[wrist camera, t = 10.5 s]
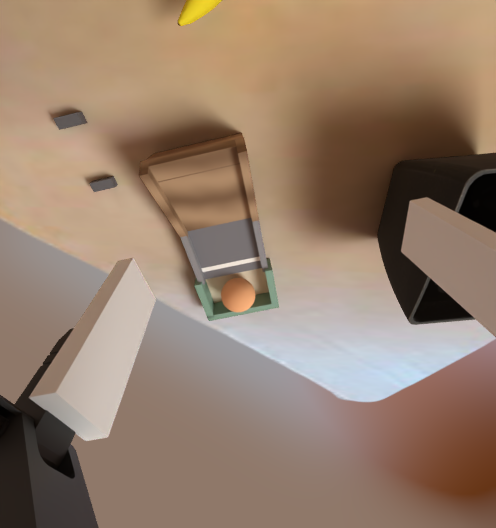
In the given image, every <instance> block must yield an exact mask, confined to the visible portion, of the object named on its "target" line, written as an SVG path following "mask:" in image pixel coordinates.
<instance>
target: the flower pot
mask: <svg viewBox="0 0 496 528" xmlns="http://www.w3.org/2000/svg"><path fill="white" fill-rule="evenodd" d="M426 197H428V198H429V199H431V200H433V201H435V202H437V203H439V204H441V205H443V206H445V207H447V208H449V209H451V210H453V211H455V212H457V213H459V214H461V215H462V216H464V217H466V218H468V219H470V220H472V221H474V222H476V223H478V224H480V225H482V226H484V227H486V228H488V229H490V230H492V231H494V232H495V233H496V153H488V154H478V155H468V156H456V157H444V158H432V159H419V160H405V161H401V162H399V163H398V164H397V165H396V166H395V168H394V170H393V174H392V178H391V182H390V186H389V190H388V194H387V198H386V202H385V206H384V210H383V214H382V218H381V222H380V226H379V230H378V234H377V236H378V242H379V247H380V252H381V256H382V260H383V263H384V266H385V270H386V273H387V275H388V278H389V281H390V283H391V286H392V288H393V291H394V293H395V295H396V297H397V300H398V302H399V304H400V306H401V308H402V310H403V312H404V314H405V316H406V317H407V319H408V321H409V322H410V323H411V324H414V325H417V324H429V323H441V322H452V321H463V320H474V319H475V318H474V317H473V316H472V315H471V314H469V313H468V312H467V311H466V310H465V309H464V308H463V307H462V306H461V305H460V304H458V303H457V302H456V301H455V300H454V299H453V298H452V297H451V296H450V295H448V294H447V293H446V292H445V291H444V290H443V289H442V288H441V287H440V286H439V285H437V284H436V283H435V282H434V281H433V280H432V279H431V278H430V277H429V276H427V275H426V274H425V273H424V272H423V271H422V270H421V269H420V268H419V267H418V266H416V265H415V264H414V263H413V262H412V261H411V260H410V259H409V258H408V257H406V256H405V255H404V254H403V253H402V252H401V248H402V243H403V237H404V231H405V226H406V220H407V214H408V208H409V203H410V201H411V200H416V199H421V198H426Z"/></svg>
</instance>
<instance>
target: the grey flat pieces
mask: <svg viewBox="0 0 496 528" xmlns="http://www.w3.org/2000/svg"><path fill="white" fill-rule="evenodd" d="M53 119H54V121H55V123H56V125H57V126H58V128H59V130H60V129H65V128H69V127H73V126H77V125H81V124H85V123H87V121H86V119H85V117H84V115H83V113H82V112H77V113H73V114H69V115H65V116H61V117H57V118H53ZM89 184H90V186H91V188H92V189H93V191H94V192H96V191H101V190H105V189H110V188H114V187H116V186H117V185H118V184H117V182H116V180H115V178H114V176H112V177H108V178H104V179H100V180H95V181H92V182H91V183H89Z"/></svg>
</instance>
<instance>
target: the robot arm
mask: <svg viewBox="0 0 496 528" xmlns="http://www.w3.org/2000/svg"><path fill="white" fill-rule="evenodd" d="M401 252H402V253H403V254H404V255H405V256H406V257H408V258H409V259H410V260H411V261H412V262H413V263H414V264H415V265H416V266H418V267H419V268H420V269H421V270H422V271H423V272H424V273H425V274H426V275H427V276H429V277H430V278H431V279H432V280H433V281H434V282H435V283H436V284H437V285H439V286H440V287H441V288H442V289H443V290H444V291H445V292H446V293H447V294H448V295H450V296H451V297H452V298H453V299H454V300H455V301H456V302H457V303H458V304H460V305H461V306H462V307H463V308H464V309H465V310H466V311H467V312H468V313H469V314H471V315H472V316H473V317H474V318H475V319H476V320H477V321H478V322H479V323H481V324H482V325H483V326H484V327H485V328H486V329H487V330H488V331H489V332H490V333H492V334H493V335H494V336H495V337H496V233H495V232H494V231H492V230H490V229H488V228H486V227H484V226H482V225H480V224H478V223H476V222H474V221H472V220H470V219H468V218H466V217H464V216H462V215H461V214H459V213H457V212H455V211H453V210H451V209H449V208H447V207H445V206H443V205H441V204H439V203H437V202H435V201H433V200H431V199H429V198H428V197H426V198H421V199H416V200H411V201H410V203H409V208H408V214H407V220H406V226H405V231H404V237H403V243H402V248H401ZM155 301H156V299H155V297H154V295H153V293H152V291H151V289H150V288H149V286H148V284H147V282H146V280H145V278H144V276H143V275H142V273H141V271H140V269H139V267H138V265H137V264H136V262H135V260H134V258H130V259H125V260H120V261H118V262H117V263H116V265H115V267H114V268H113V270H112V271H111V273H110V274H109V276H108V277H107V279H106V280H105V282H104V283H103V285H102V286H101V288H100V289H99V291H98V293H97V294H96V295H95V297H94V299H93V300H92V302H91V303H90V305H89V306H88V308H87V309H86V311H85V312H84V314H83V315H82V317H81V318H80V320H79V321H78V323H77V324H76V326H75V328H73V329H70V330H69V331H68V332H67V333H66V334H65V335H64V336H63V337H62V338H61V339H59V341H58V342H57V343H56V345H55V346H54V348H53V349H52V351H51V352H50V355H48V356H47V358H46V359H45V361H44V362H43V366H41V367H40V368H39V369H38V371H37V373H36V374H35V375H34V377H33V378H32V380H31V381H30V383H29V384H28V385H27V387H26V389H25V390H24V392H23V393H22V394H21V396H20V397H19V399H18V400H17V402H16V403H15V404H13V403H11V402H10V401H8V400H7V399H6V398H4V397H3V396H1V395H0V528H98V524H97V521H96V518H95V514H94V511H93V508H92V504H91V501H90V497H89V494H88V490H87V487H86V484H85V480H84V477H83V473H82V470H81V467H80V463H79V460H78V456H77V453H76V450H75V449H74V447H73V446H72V445H71V442H72V439H73V437H74V435H75V433H76V434H77V435H78V436H80V437H81V438H82V439H84V440H85V441H89V440H95V439H101V438H106V437H108V436H109V433H110V430H111V427H112V425H113V422H114V419H115V416H116V413H117V410H118V407H119V404H120V401H121V399H122V396H123V393H124V390H125V387H126V384H127V381H128V378H129V376H130V373H131V370H132V367H133V364H134V361H135V358H136V355H137V353H138V350H139V347H140V344H141V341H142V338H143V335H144V332H145V330H146V327H147V324H148V321H149V318H150V315H151V312H152V309H153V307H154V304H155Z"/></svg>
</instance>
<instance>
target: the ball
mask: <svg viewBox="0 0 496 528" xmlns="http://www.w3.org/2000/svg"><path fill="white" fill-rule="evenodd" d="M221 299H222V302H223V304H224V306H225V307H226V308H227V309H229V310H230V311H233V312H244V311H246V310H248V309H249V308H250V307H251V306H252V305H253V303H254V300H255V290H254V287H253V285H252V284H251V283H250V282H249V281H247V280H246V279H243V278H233V279H231V280H229V281H228V282H226V284H225V285H224V286H223V288H222V291H221Z"/></svg>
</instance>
